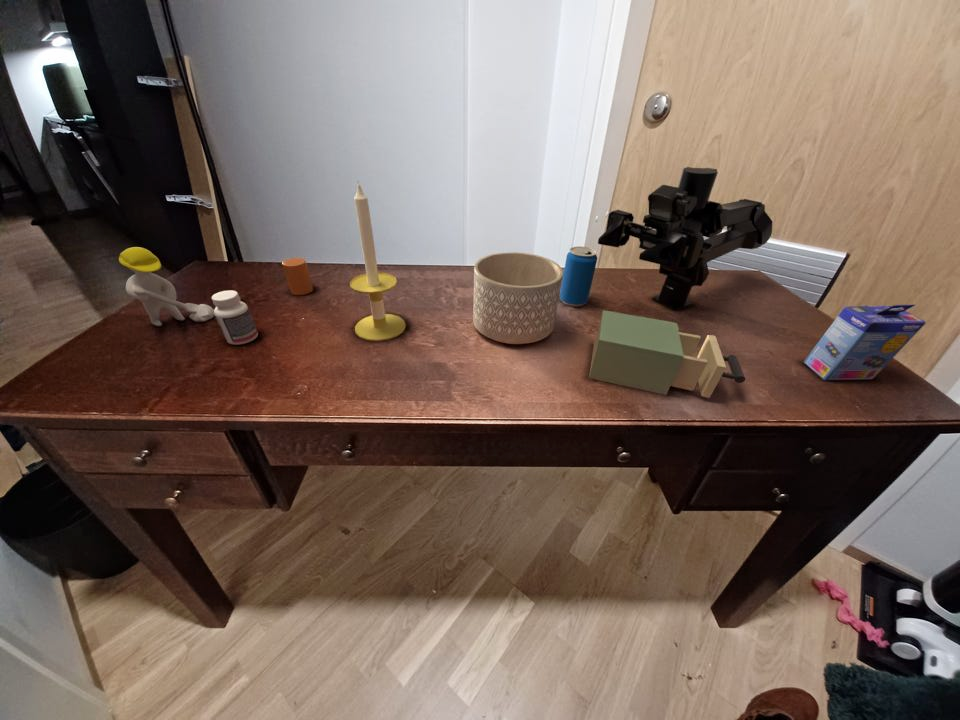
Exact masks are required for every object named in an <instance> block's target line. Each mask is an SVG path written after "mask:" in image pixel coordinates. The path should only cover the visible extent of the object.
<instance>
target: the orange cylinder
mask: <svg viewBox="0 0 960 720" xmlns="http://www.w3.org/2000/svg"><path fill="white" fill-rule="evenodd" d="M282 268H283V271H284V274H285V277H286V281H287V284H288V287H289V291H290V293H291V295H295V296H303V295H309V294H310V293H312V292H313V291H314V286H313V283H312V280H311V279H312V278H311V275H310V272H309V268H308V264H307V260H306V259H305V258H302V257H293V258H288V259H285V260H284V261H282Z"/></svg>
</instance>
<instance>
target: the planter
mask: <svg viewBox="0 0 960 720" xmlns="http://www.w3.org/2000/svg"><path fill="white" fill-rule="evenodd" d="M563 274H564V269H562V267H561V266H560V265H559V264H558V263H557V262H556V261H554V260H551V259H550V258H547V257H544V256H541V255H538V254H533V253H532V254H531V253H526V252H517V251H516V252H514V251H511V252H510V251H509V252H498V253H497V252H496V253H492V254H488V255H485V256H483V257H481V258H480V259H478V260H477V261H476V262H475V263H474V267H473V304H472V305H473V307H472V308H473V309H472V323H473V326H474V327H475V329H476V330H477V331H478V332H479V333H480V334H481V335H483V336H485V337H486V338H489V339H491V340H493V341H496V342H499V343H503V344H509V345H525V344H531V343H536V342H538V341H541V340H543V339H545V338H547V337H548V336H550V335H551V333H552V332H553V331H554V327H555V322H556V315H557V311H558V304H559V300H560V291H561V285H562V280H563Z"/></svg>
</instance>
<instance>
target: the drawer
mask: <svg viewBox="0 0 960 720" xmlns="http://www.w3.org/2000/svg"><path fill="white" fill-rule="evenodd" d="M679 335H680V340H681V345H682V350H683V355H684V357H683V359H682V361H681V363H680V366H679V368H678V370H677V372H676V375H675V377H674V379H673V381H672V383H671V386H670V387H674V388H677V389H683V390H688V391H694V390H695V388H696V386H697V384H698V387H699V393H700V396H701V397H702V398H708V399H709V398H711V396H712V395H713V392H714V391H715V389H716V387H717V385H718V383H719V382H720V380H721V378H726V379H730V380H734V382H735V383H736V384H742V383H744V382H745V381H746V377H745V374H744V372H743V369H742V366H741V364H740V362H739V360H738V357H737V355H735V354H730V355H727V356H726V355H723V353H722V351H721V348H720V345H719V343H718V339H717V336H716V335H712V334H707V335H706V337H705V340H704V341H703V344H702V346H701V348H700V350H699V352H698V354H697V356H694V354H695V351H696V349H697V348H698V345H699V342H700V340H701V336H700V335H697V334H691V333H686V332H681V331H679ZM725 362H727V364H728V367H729V369H730V371H731V373H729V372H725V370H726V369H727V365H726V363H725Z"/></svg>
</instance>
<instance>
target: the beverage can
mask: <svg viewBox="0 0 960 720" xmlns="http://www.w3.org/2000/svg"><path fill="white" fill-rule="evenodd" d="M597 262H598V255H597V250H596V249H594V248H591V247H588V246H573V247H571V248H569V252H568V253H567V254H566V258H565V263H564V269H563V277H562V283H561V288H560V294H559V300H561V302H562V303H563V304H564V305H567V306H569V307H581V306H583V305H585V304H587V303H588V301H589V297H590V294H591V293H590V292H591V290H592V289H591V288H592V284H593V280H594V277H595V271H596V266H597Z"/></svg>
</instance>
